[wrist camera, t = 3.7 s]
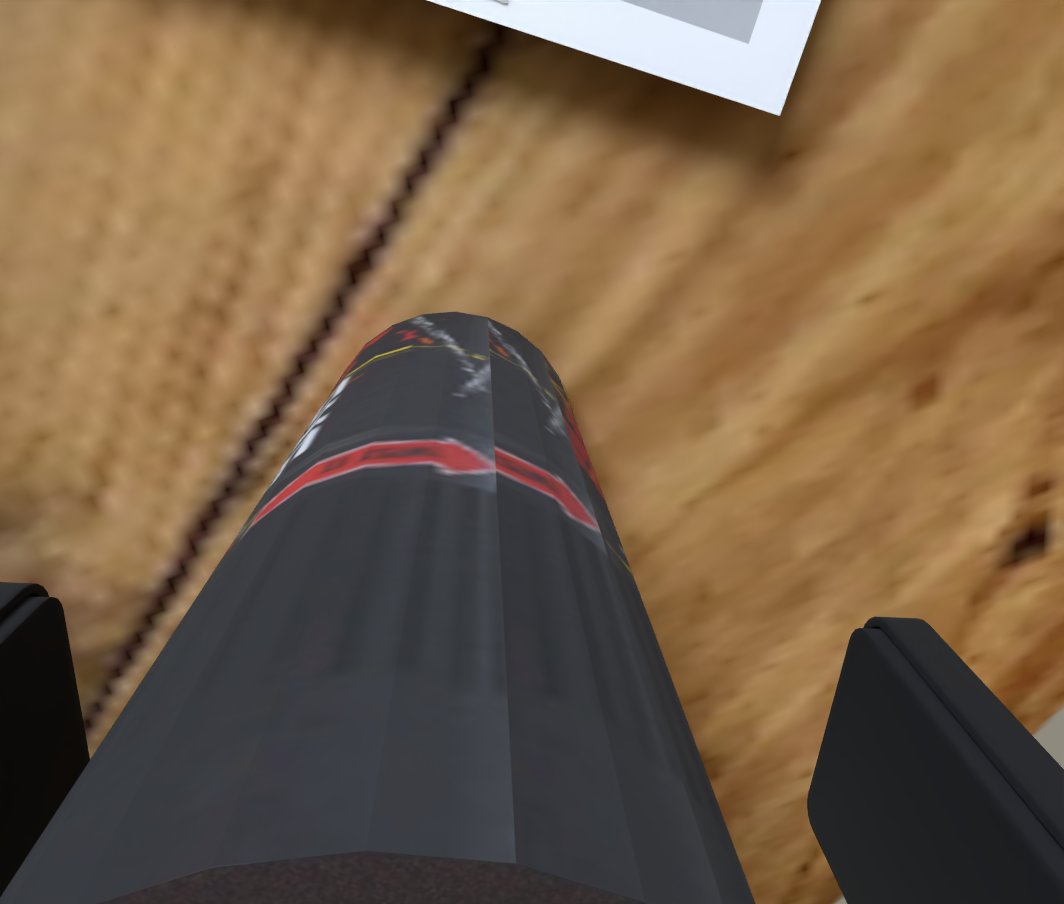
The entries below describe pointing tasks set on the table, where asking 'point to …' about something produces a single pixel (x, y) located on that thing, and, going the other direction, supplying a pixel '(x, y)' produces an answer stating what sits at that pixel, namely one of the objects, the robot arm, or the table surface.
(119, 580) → the table surface
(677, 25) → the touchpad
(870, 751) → the robot arm
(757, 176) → the table surface
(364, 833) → the deodorant
